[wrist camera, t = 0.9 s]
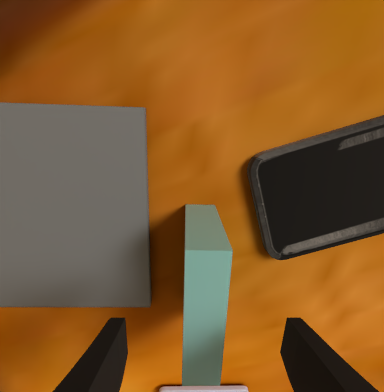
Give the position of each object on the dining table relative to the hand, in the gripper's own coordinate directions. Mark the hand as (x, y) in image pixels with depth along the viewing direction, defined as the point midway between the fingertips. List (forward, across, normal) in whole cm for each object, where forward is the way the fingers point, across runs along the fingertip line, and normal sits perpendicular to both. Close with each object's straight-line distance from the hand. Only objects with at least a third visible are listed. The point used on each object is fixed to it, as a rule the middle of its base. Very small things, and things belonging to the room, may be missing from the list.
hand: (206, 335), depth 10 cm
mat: (+6, +10, -3) cm, 12 cm away
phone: (+7, -11, -6) cm, 14 cm away
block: (+7, 0, 0) cm, 7 cm away
